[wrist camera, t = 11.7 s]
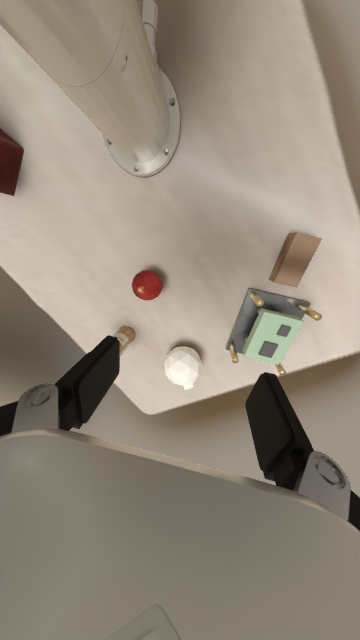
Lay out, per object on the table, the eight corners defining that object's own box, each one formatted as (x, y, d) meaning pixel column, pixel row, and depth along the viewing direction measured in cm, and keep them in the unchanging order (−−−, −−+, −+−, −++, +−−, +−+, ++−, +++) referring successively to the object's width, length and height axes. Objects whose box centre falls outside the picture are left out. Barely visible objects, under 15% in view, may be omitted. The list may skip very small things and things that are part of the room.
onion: (149, 299, 38) (135, 311, 31) (135, 276, 37) (117, 284, 29) (170, 287, 36) (161, 297, 29) (156, 263, 35) (143, 267, 27)
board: (261, 308, 31) (265, 313, 29) (298, 317, 31) (306, 323, 28) (242, 350, 35) (244, 357, 33) (274, 359, 35) (279, 367, 33)
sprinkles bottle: (131, 324, 42) (100, 356, 30) (138, 340, 43) (110, 376, 31) (116, 327, 43) (79, 359, 31) (123, 342, 45) (90, 378, 32)
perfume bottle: (159, 343, 40) (169, 376, 46) (161, 370, 32) (174, 406, 38) (193, 334, 41) (199, 368, 47) (204, 358, 33) (210, 396, 39)
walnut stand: (288, 234, 29) (296, 233, 26) (311, 239, 29) (322, 238, 26) (268, 279, 32) (274, 282, 30) (289, 283, 32) (296, 287, 30)
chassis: (248, 287, 34) (256, 295, 28) (308, 301, 33) (328, 312, 28) (225, 347, 40) (228, 363, 35) (275, 360, 39) (285, 378, 34)
